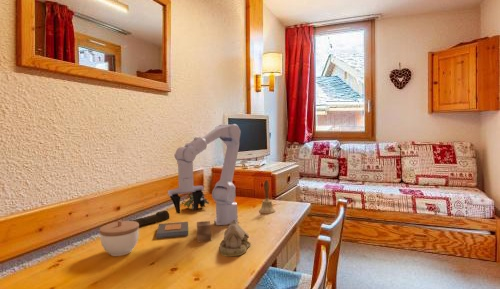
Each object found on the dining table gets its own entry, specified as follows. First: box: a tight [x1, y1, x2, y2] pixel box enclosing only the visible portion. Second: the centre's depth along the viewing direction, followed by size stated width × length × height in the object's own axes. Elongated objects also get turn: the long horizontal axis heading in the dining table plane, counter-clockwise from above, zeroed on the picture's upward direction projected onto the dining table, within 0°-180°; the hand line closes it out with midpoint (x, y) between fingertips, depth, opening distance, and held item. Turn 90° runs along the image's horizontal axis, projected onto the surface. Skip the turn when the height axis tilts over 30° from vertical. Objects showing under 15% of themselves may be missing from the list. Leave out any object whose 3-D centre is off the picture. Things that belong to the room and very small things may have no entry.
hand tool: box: [128, 210, 170, 227], centre depth 136 cm, size 19×4×5 cm, turn 133°
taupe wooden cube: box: [196, 220, 212, 243], centre depth 116 cm, size 5×5×6 cm
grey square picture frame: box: [155, 221, 189, 240], centre depth 124 cm, size 12×12×2 cm
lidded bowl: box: [99, 219, 140, 257], centre depth 105 cm, size 13×13×11 cm
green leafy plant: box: [181, 193, 210, 211], centre depth 159 cm, size 11×11×12 cm
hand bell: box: [258, 179, 276, 215], centre depth 152 cm, size 8×8×16 cm
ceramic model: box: [219, 220, 252, 257], centre depth 106 cm, size 14×11×10 cm
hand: (187, 211), depth 120 cm, fingers open, 7 cm apart
